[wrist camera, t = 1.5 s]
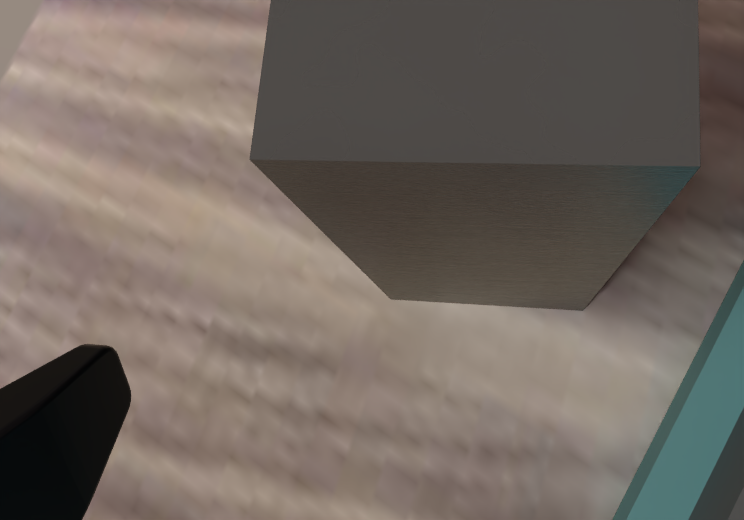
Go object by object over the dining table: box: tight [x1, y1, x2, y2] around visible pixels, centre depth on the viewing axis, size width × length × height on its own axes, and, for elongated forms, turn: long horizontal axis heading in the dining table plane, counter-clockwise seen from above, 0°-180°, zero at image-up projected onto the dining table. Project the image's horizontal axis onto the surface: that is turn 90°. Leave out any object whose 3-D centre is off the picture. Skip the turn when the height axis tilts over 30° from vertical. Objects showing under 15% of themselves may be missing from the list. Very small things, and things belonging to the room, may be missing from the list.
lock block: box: [250, 0, 700, 311], centre depth 15 cm, size 6×6×12 cm
